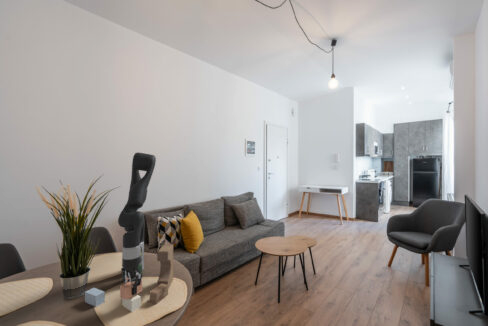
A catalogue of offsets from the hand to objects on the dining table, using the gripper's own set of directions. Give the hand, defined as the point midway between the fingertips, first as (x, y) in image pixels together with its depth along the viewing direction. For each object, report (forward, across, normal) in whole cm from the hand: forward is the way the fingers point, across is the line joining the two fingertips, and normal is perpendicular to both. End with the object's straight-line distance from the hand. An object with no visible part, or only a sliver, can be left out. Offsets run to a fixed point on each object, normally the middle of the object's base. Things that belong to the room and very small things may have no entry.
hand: (131, 292), depth 104 cm
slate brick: (+6, +17, +8) cm, 20 cm away
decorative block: (+6, +2, -20) cm, 21 cm away
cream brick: (+6, 0, 0) cm, 6 cm away
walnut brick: (+6, -5, -11) cm, 14 cm away
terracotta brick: (+1, 0, 0) cm, 1 cm away
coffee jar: (+6, +21, -13) cm, 26 cm away
